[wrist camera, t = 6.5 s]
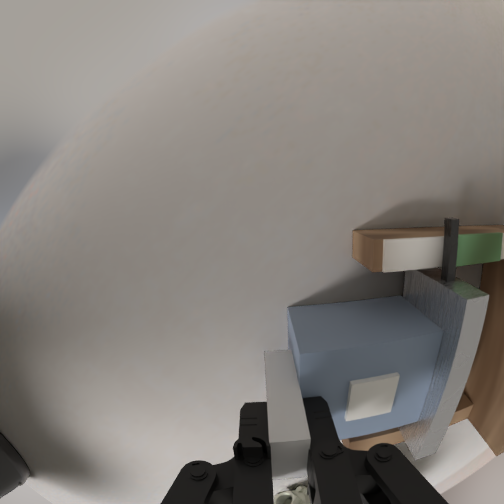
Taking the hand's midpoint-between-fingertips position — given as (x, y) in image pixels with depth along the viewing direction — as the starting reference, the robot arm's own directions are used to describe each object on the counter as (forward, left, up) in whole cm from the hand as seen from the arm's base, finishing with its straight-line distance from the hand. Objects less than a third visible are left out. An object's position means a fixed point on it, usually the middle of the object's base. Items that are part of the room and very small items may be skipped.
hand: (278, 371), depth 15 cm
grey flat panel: (+8, +1, -1) cm, 9 cm away
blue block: (+4, 0, -2) cm, 5 cm away
